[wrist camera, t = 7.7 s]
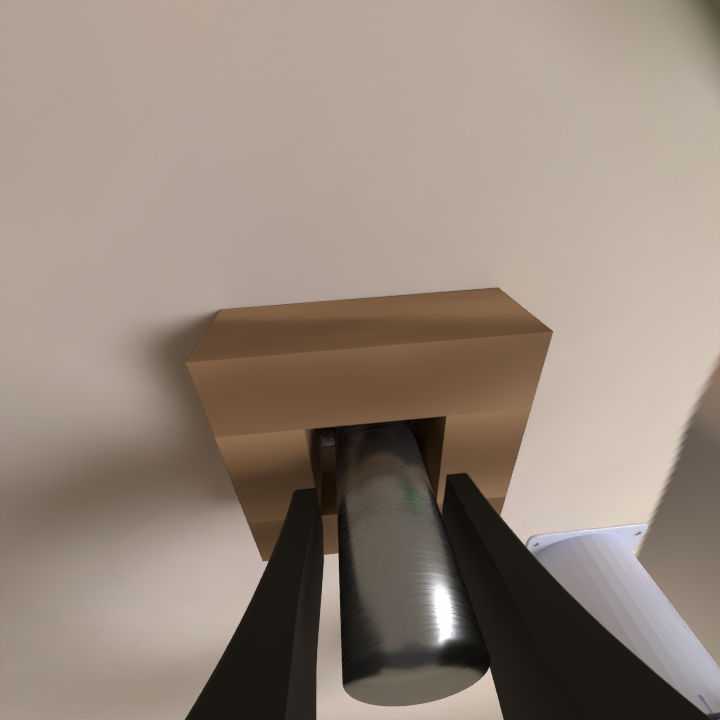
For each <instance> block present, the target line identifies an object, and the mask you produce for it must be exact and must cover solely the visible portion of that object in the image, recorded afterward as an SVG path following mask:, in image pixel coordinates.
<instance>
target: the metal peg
mask: <svg viewBox="0 0 720 720" xmlns="http://www.w3.org/2000/svg"><path fill="white" fill-rule="evenodd" d="M335 456H336V488H337V520H338V552H339V584H340V616H341V648H342V680H343V688H344V690H345V691H346V692H347V694H348V695H350V696H351V697H352V698H354V699H356V700H358V701H361V702H364V703H368V704H372V705H379V706H408V705H416V704H422V703H427V702H432V701H436V700H439V699H442V698H446V697H448V696H451V695H454V694H456V693H458V692H461V691H463V690H464V689H466V688H468V687H470V686H471V685H473V684H474V683H476V682H477V681H478V680H480V679H481V678H482V677H483V676H484V675H485V673H486V672H487V671H488V669H489V667H490V663H491V658H490V655H489V652H488V649H487V646H486V643H485V640H484V637H483V634H482V631H481V628H480V626H479V623H478V620H477V617H476V614H475V611H474V608H473V605H472V602H471V599H470V597H469V594H468V591H467V588H466V585H465V582H464V579H463V576H462V573H461V570H460V568H459V565H458V562H457V559H456V556H455V553H454V550H453V547H452V544H451V542H450V539H449V536H448V533H447V530H446V527H445V524H444V521H443V518H442V515H441V513H440V510H439V507H438V504H437V501H436V498H435V495H434V492H433V489H432V486H431V484H430V481H429V478H428V475H427V472H426V469H425V466H424V463H423V460H422V457H421V455H420V452H419V449H418V446H417V443H416V440H415V437H414V434H413V431H412V429H411V426H410V423H409V420H398V421H388V422H377V423H366V424H356V425H345V426H335Z"/></svg>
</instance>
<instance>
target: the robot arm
mask: <svg viewBox="0 0 720 720" xmlns="http://www.w3.org/2000/svg"><path fill="white" fill-rule="evenodd" d="M442 518H443V521H444V524H445V527H446V530H447V533H448V536H449V539H450V542H451V544H452V547H453V550H454V553H455V556H456V559H457V562H458V565H459V568H460V570H461V573H462V576H463V579H464V582H465V585H466V588H467V591H468V594H469V597H470V599H471V602H472V605H473V608H474V611H475V614H476V617H477V620H478V623H479V626H480V628H481V631H482V634H483V637H484V640H485V643H486V646H487V649H488V652H489V655H490V658H491V663H490V669H491V673H492V677H493V681H494V684H495V688H496V692H497V695H498V699H499V703H500V707H501V711H502V715H503V719H504V720H720V668H719V667H718V666H717V664H716V663H715V662H714V660H713V659H712V658H711V656H710V655H709V654H708V652H707V651H706V650H705V648H704V647H703V646H702V645H701V643H700V642H699V641H698V639H697V638H696V637H695V635H694V634H693V633H692V631H691V630H690V629H689V627H688V626H687V625H686V623H685V622H684V621H683V619H682V618H681V617H680V615H678V613H677V611H676V610H675V609H674V607H673V606H672V605H671V603H670V602H669V601H668V600H667V598H666V597H665V596H664V594H663V593H662V592H661V590H660V589H659V588H658V586H657V585H656V584H655V582H654V581H653V580H652V578H651V577H650V576H649V575H648V573H647V572H646V570H645V569H644V568H643V567H642V565H641V564H640V563H639V561H638V560H637V559H636V557H635V556H634V555H633V553H632V552H631V551H632V549H633V548H634V547H635V545H636V544H637V542H638V541H639V539H640V538H641V537H642V535H643V534H644V532H645V531H646V529H647V528H648V525H647V524H645V523H640V524H631V525H622V526H613V527H604V528H595V529H586V530H576V531H567V532H558V533H549V534H540V535H534V536H532V537H530V538H529V539H528V542H527V544H526V546H525V545H524V544H523V543H522V542H521V540H520V539H519V538H518V537H517V536H516V535H515V533H514V532H513V531H512V530H511V529H510V528H509V526H508V525H507V524H506V523H505V522H504V520H503V519H502V518H501V517H500V515H499V514H498V513H497V512H496V510H495V509H494V508H493V507H492V505H491V504H490V503H489V501H488V500H487V499H486V498H485V496H484V495H483V494H482V492H481V491H480V490H479V488H478V487H477V486H476V484H475V483H474V481H473V480H472V479H471V477H470V476H469V475H468V474H467V473H457V474H447V476H446V484H445V491H444V499H443V507H442ZM638 531H640V532H639V533H637V534H634V533H636V532H638ZM533 543H537V544H536V545H534V546H531V545H532V544H533ZM323 565H324V543H323V523H322V517H321V512H320V507H319V502H318V496H317V491H316V488H309V489H299V490H295V491H294V492H293V495H292V499H291V502H290V505H289V509H288V512H287V515H286V518H285V521H284V524H283V526H282V529H281V532H280V535H279V537H278V540H277V542H276V545H275V547H274V550H273V552H272V554H271V557H270V559H269V562H268V564H267V567H266V569H265V571H264V573H263V576H262V578H261V580H260V582H259V584H258V586H257V589H256V591H255V593H254V595H253V597H252V599H251V601H250V604H249V606H248V608H247V610H246V612H245V614H244V616H243V618H242V620H241V622H240V624H239V626H238V627H237V629H236V631H235V633H234V635H233V637H232V639H231V641H230V643H229V644H228V646H227V648H226V650H225V652H224V654H223V655H222V657H221V659H220V661H219V662H218V664H217V666H216V668H215V669H214V671H213V673H212V675H211V677H210V678H209V680H208V682H207V684H206V685H205V687H204V689H203V690H202V692H201V694H200V695H199V697H198V699H197V701H196V702H195V704H194V706H193V707H192V709H191V710H190V712H189V714H188V715H187V717H186V718H185V720H316V666H317V646H318V632H319V619H320V606H321V593H322V579H323Z"/></svg>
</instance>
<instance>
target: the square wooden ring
mask: <svg viewBox="0 0 720 720" xmlns="http://www.w3.org/2000/svg"><path fill="white" fill-rule="evenodd" d="M552 333H553V331H552V330H551V329H549V328H548V327H547V326H546V325H544V324H543V323H542V322H541V321H539V320H538V319H537V318H536V317H534V316H533V315H532V314H531V313H529V312H528V311H527V310H526V309H524V308H523V307H522V306H521V305H519V304H518V303H517V302H516V301H515V300H513V299H512V298H511V297H510V296H508V295H507V294H506V293H505V292H503V291H502V290H501V289H500V288H489V289H476V290H464V291H451V292H438V293H426V294H413V295H400V296H388V297H375V298H363V299H350V300H337V301H325V302H312V303H299V304H287V305H274V306H261V307H249V308H236V309H223V310H221V311H220V312H219V313H218V315H217V316H216V318H215V319H214V321H213V322H212V324H211V325H210V327H209V328H208V330H207V331H206V333H205V334H204V336H203V337H202V339H201V340H200V342H199V343H198V344H197V346H196V347H195V349H194V350H193V352H192V353H191V355H190V356H189V358H188V359H187V361H186V362H185V364H186V366H187V369H188V371H189V374H190V376H191V379H192V381H193V384H194V387H195V389H196V392H197V394H198V397H199V399H200V402H201V404H202V407H203V410H204V412H205V415H206V417H207V420H208V422H209V425H210V427H211V430H212V432H213V435H214V438H215V440H216V443H217V445H218V448H219V450H220V453H221V455H222V458H223V461H224V463H225V466H226V468H227V471H228V473H229V476H230V478H231V481H232V484H233V486H234V489H235V491H236V494H237V496H238V499H239V501H240V504H241V507H242V509H243V512H244V514H245V517H246V519H247V522H248V524H249V527H250V530H251V532H252V535H253V537H254V540H255V542H256V545H257V547H258V550H259V552H260V555H261V558H262V560H263V561H269V559H270V557H271V554H272V552H273V550H274V547H275V545H276V542H277V540H278V537H279V535H280V532H281V529H282V526H283V524H284V521H285V518H286V515H287V512H288V509H289V505H290V502H291V499H292V495H293V492H294V491H295V490H299V489H309V488H316V491H317V496H318V502H319V507H320V512H321V517H322V523H323V543H324V555H326V554H335V553H339V552H338V520H337V488H336V456H335V446H331V447H322V444H321V438H320V431H319V428H324V427H335V426H345V425H356V424H366V423H377V422H388V421H398V420H409V419H417V438H415V440H416V443H417V446H418V449H419V452H420V455H421V457H422V460H423V463H424V466H425V469H426V472H427V475H428V478H429V481H430V484H431V486H432V489H433V492H434V495H435V498H436V501H437V504H438V507H439V510H440V513H441V515H442V507H443V499H444V491H445V484H446V476H447V474H457V473H467V474H468V475H469V476H470V477H471V479H472V480H473V481H474V483H475V484H476V486H477V487H478V488H479V490H480V491H481V492H482V494H483V495H484V496H485V498H486V499H487V500H488V501H489V503H490V504H491V505H492V507H493V508H494V509H495V510H496V512H497V513H498V514H499V515H501V511H502V508H503V504H504V501H505V497H506V494H507V490H508V487H509V483H510V480H511V477H512V473H513V470H514V466H515V463H516V459H517V456H518V452H519V449H520V445H521V442H522V438H523V435H524V431H525V428H526V424H527V421H528V417H529V414H530V410H531V407H532V403H533V400H534V396H535V393H536V389H537V386H538V382H539V379H540V375H541V372H542V368H543V365H544V361H545V358H546V354H547V351H548V347H549V344H550V340H551V337H552Z"/></svg>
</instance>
